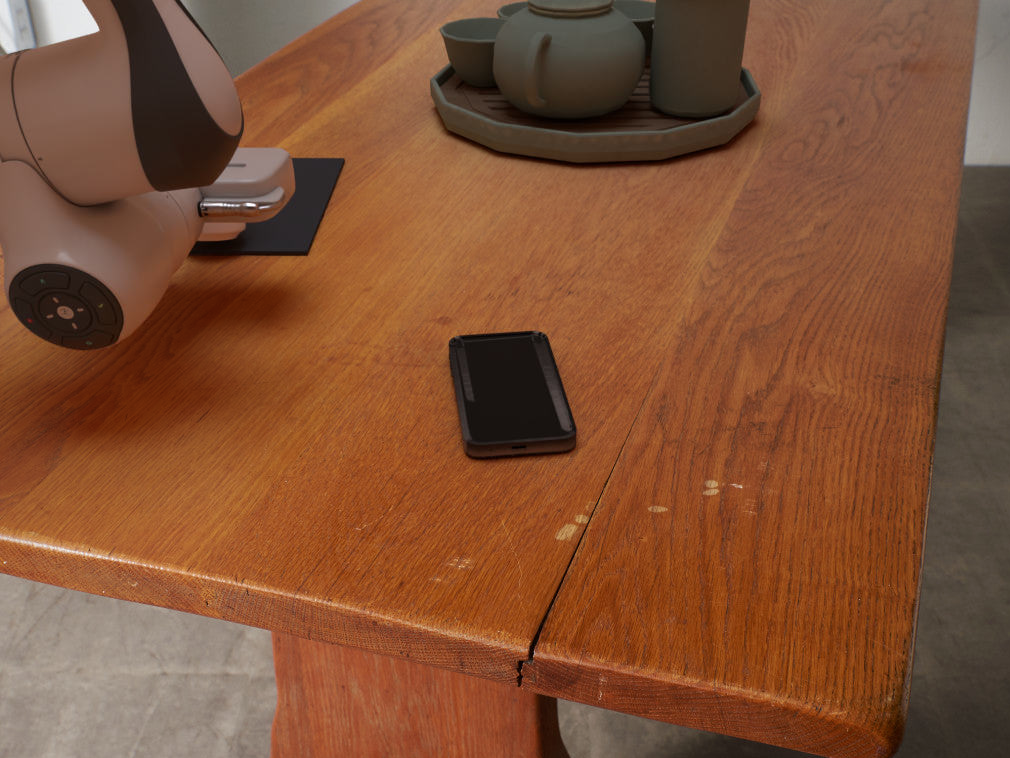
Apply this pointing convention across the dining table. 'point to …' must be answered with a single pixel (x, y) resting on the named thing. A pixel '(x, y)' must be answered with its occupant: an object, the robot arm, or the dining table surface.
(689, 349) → the dining table surface
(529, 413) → the phone
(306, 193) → the mat
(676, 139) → the tea set
